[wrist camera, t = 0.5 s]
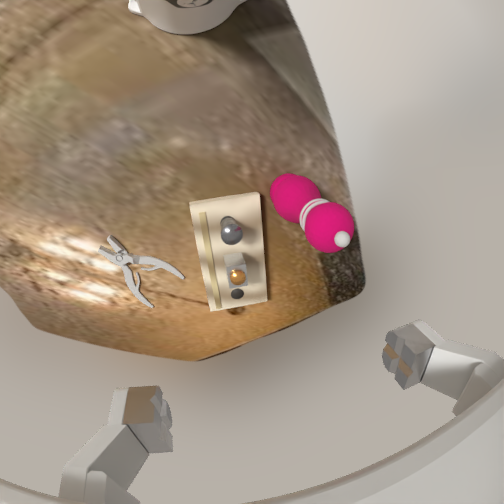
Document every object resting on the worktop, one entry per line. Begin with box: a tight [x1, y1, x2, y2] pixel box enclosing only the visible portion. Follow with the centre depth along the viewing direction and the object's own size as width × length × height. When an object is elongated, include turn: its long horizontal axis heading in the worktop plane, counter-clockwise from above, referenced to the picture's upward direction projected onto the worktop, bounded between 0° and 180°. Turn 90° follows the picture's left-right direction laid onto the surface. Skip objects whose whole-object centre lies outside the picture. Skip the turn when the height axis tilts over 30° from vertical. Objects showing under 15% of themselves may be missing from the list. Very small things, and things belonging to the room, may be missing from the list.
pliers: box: [98, 235, 185, 308], centre depth 47 cm, size 10×2×15 cm
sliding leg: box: [223, 252, 248, 289], centre depth 46 cm, size 4×3×5 cm
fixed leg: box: [220, 218, 243, 245], centre depth 43 cm, size 3×3×5 cm
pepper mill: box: [270, 173, 354, 253], centre depth 38 cm, size 7×7×20 cm
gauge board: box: [190, 192, 267, 311], centre depth 49 cm, size 21×11×2 cm, turn 5°
